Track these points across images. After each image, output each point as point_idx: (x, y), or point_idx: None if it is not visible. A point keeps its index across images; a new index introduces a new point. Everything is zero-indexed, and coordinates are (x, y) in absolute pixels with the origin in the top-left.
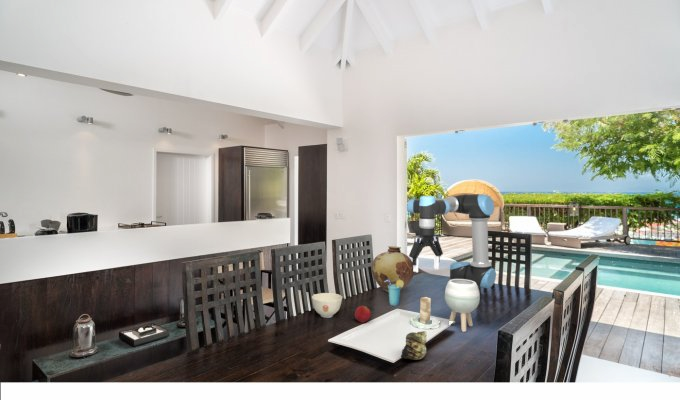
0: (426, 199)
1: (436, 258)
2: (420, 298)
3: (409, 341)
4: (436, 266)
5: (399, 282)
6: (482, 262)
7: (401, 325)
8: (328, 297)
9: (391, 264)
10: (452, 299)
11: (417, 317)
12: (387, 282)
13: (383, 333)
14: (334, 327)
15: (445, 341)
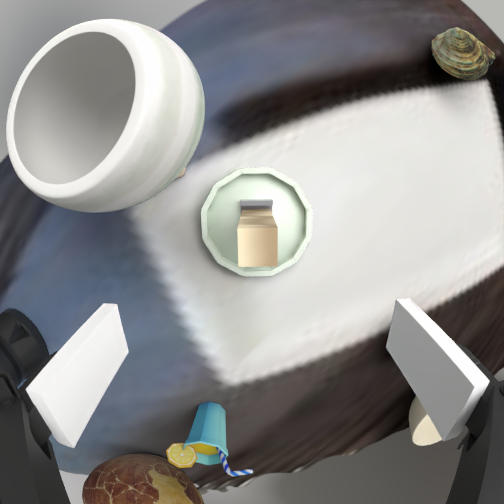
0: None
1: (66, 395)
2: (277, 264)
3: (489, 51)
4: (108, 334)
5: (182, 459)
6: None
7: (338, 252)
8: (416, 435)
9: None
10: (202, 89)
11: (252, 270)
12: (183, 480)
13: (426, 222)
14: (471, 316)
15: (312, 68)
